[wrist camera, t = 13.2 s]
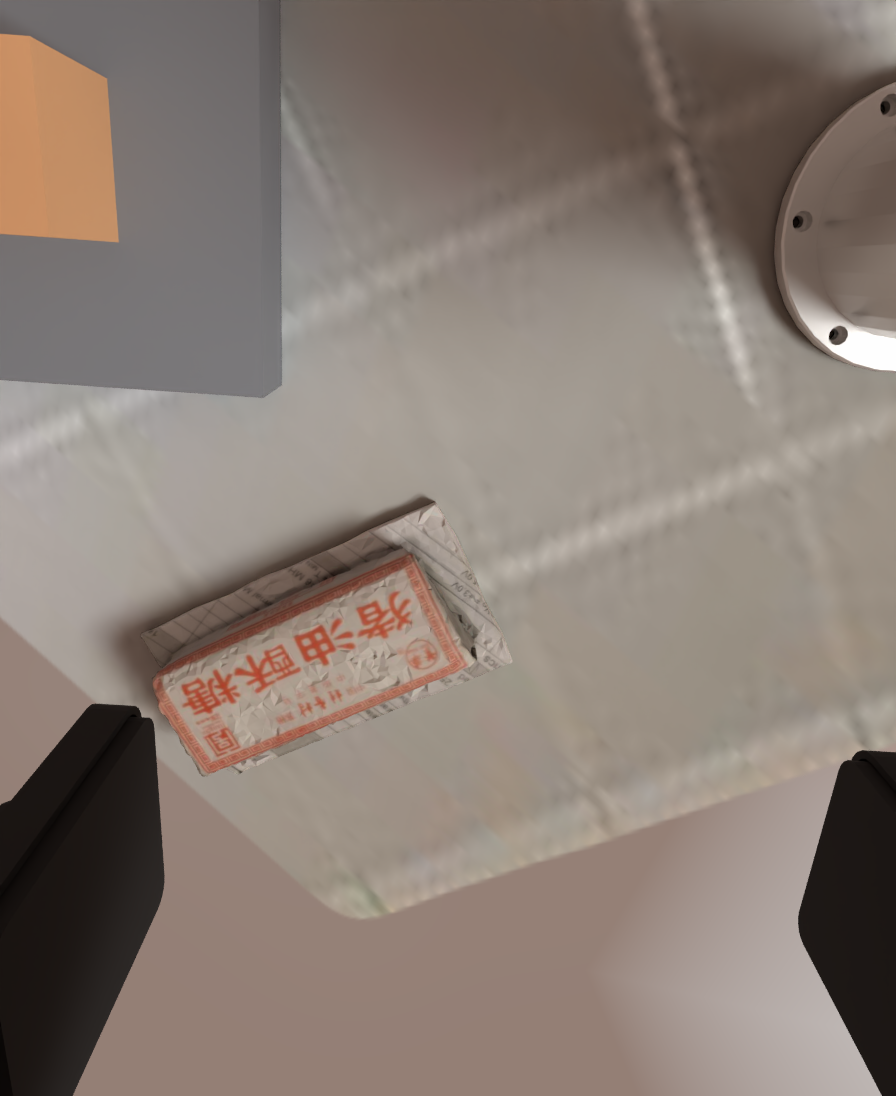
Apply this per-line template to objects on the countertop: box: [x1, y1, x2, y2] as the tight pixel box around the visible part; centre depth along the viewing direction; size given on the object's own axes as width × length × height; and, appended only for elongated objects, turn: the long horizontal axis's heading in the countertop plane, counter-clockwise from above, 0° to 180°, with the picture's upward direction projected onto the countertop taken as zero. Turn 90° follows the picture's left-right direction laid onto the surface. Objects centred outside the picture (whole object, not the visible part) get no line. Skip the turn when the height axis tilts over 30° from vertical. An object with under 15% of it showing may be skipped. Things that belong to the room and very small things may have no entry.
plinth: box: [0, 0, 282, 398], centre depth 34 cm, size 18×18×4 cm
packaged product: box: [141, 502, 513, 776], centre depth 42 cm, size 18×5×10 cm
